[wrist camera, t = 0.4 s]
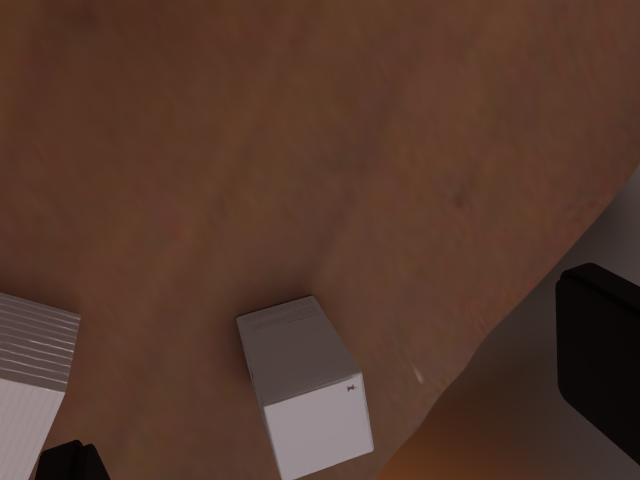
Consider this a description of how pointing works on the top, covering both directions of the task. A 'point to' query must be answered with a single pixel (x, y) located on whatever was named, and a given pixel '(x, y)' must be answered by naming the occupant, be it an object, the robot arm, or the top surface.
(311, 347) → the supplement box
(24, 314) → the long grey block
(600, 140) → the top surface
